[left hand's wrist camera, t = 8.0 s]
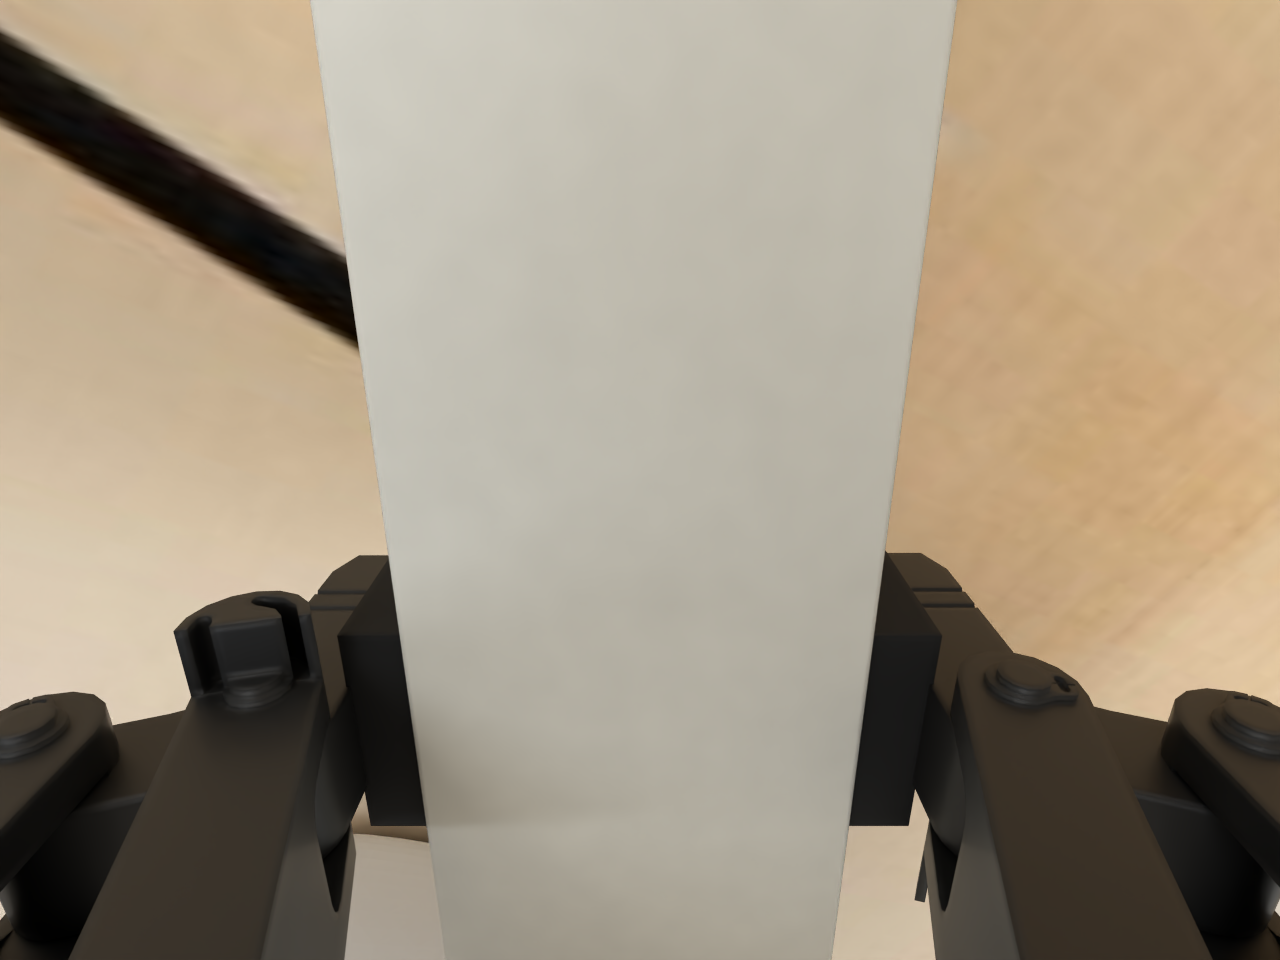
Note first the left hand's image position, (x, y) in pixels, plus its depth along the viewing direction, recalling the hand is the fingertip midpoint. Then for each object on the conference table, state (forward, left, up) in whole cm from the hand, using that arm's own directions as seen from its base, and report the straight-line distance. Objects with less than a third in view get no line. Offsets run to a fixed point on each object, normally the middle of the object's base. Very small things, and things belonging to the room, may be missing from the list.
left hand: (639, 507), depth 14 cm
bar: (+10, +29, -1) cm, 31 cm away
